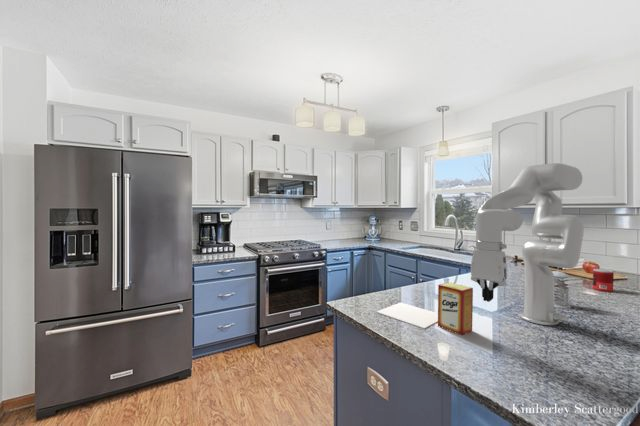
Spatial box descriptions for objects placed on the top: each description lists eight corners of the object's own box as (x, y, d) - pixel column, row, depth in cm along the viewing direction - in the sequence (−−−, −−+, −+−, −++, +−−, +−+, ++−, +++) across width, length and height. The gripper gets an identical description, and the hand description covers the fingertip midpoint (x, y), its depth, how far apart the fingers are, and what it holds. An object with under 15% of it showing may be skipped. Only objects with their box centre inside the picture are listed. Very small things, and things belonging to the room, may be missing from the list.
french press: (569, 309, 128) (570, 252, 127) (536, 302, 137) (537, 249, 136) (573, 304, 134) (574, 250, 134) (542, 298, 143) (543, 247, 142)
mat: (447, 316, 119) (447, 315, 119) (424, 329, 107) (424, 327, 107) (400, 303, 135) (400, 302, 135) (376, 312, 123) (376, 311, 123)
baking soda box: (437, 326, 110) (438, 283, 109) (447, 322, 113) (448, 281, 113) (462, 335, 102) (462, 289, 101) (472, 330, 105) (472, 286, 105)
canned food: (617, 292, 154) (617, 271, 154) (602, 292, 154) (602, 271, 154) (603, 288, 162) (603, 268, 161) (588, 288, 162) (589, 268, 162)
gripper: (517, 247, 95) (516, 303, 96) (470, 243, 107) (469, 293, 107) (510, 250, 91) (509, 308, 91) (461, 245, 102) (460, 297, 102)
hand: (487, 300), depth 99 cm, fingers closed
